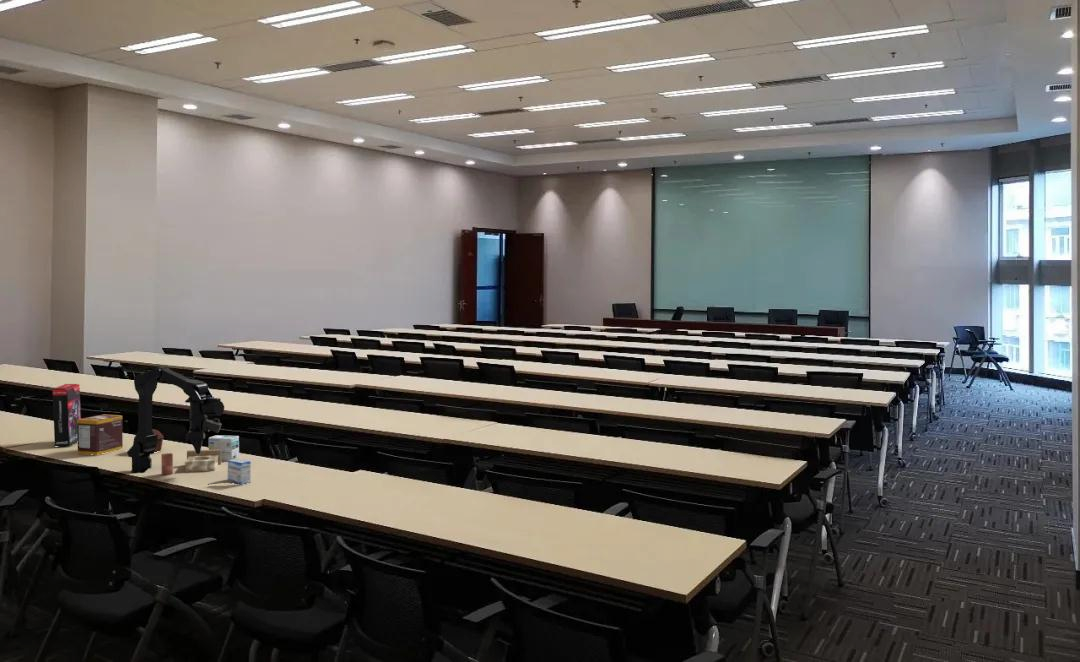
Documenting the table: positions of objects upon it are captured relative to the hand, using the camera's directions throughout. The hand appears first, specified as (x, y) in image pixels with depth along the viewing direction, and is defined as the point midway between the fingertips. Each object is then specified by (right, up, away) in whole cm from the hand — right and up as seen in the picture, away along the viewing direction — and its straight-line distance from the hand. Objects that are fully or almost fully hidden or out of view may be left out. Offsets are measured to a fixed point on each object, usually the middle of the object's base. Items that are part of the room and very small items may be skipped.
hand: (198, 453), depth 315 cm
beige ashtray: (-3, -8, +11) cm, 13 cm away
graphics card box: (-86, -5, +58) cm, 104 cm away
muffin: (-41, -6, +45) cm, 61 cm away
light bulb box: (-1, -8, +28) cm, 29 cm away
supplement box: (-62, -6, +43) cm, 76 cm away
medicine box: (+19, -10, -8) cm, 23 cm away
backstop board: (-2, -9, +8) cm, 12 cm away
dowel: (-12, -9, 0) cm, 15 cm away
